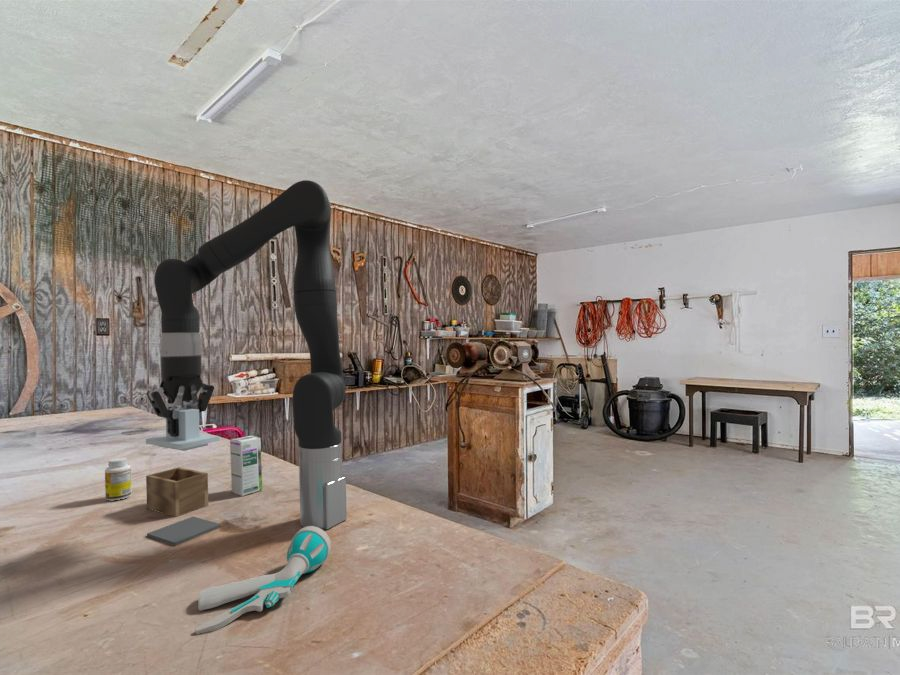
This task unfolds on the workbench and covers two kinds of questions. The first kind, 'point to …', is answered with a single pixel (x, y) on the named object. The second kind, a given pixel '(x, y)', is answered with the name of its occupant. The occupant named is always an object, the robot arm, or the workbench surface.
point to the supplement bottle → (118, 479)
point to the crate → (177, 491)
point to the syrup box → (246, 465)
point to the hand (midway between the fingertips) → (183, 434)
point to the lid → (185, 433)
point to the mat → (183, 530)
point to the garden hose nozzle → (267, 580)
